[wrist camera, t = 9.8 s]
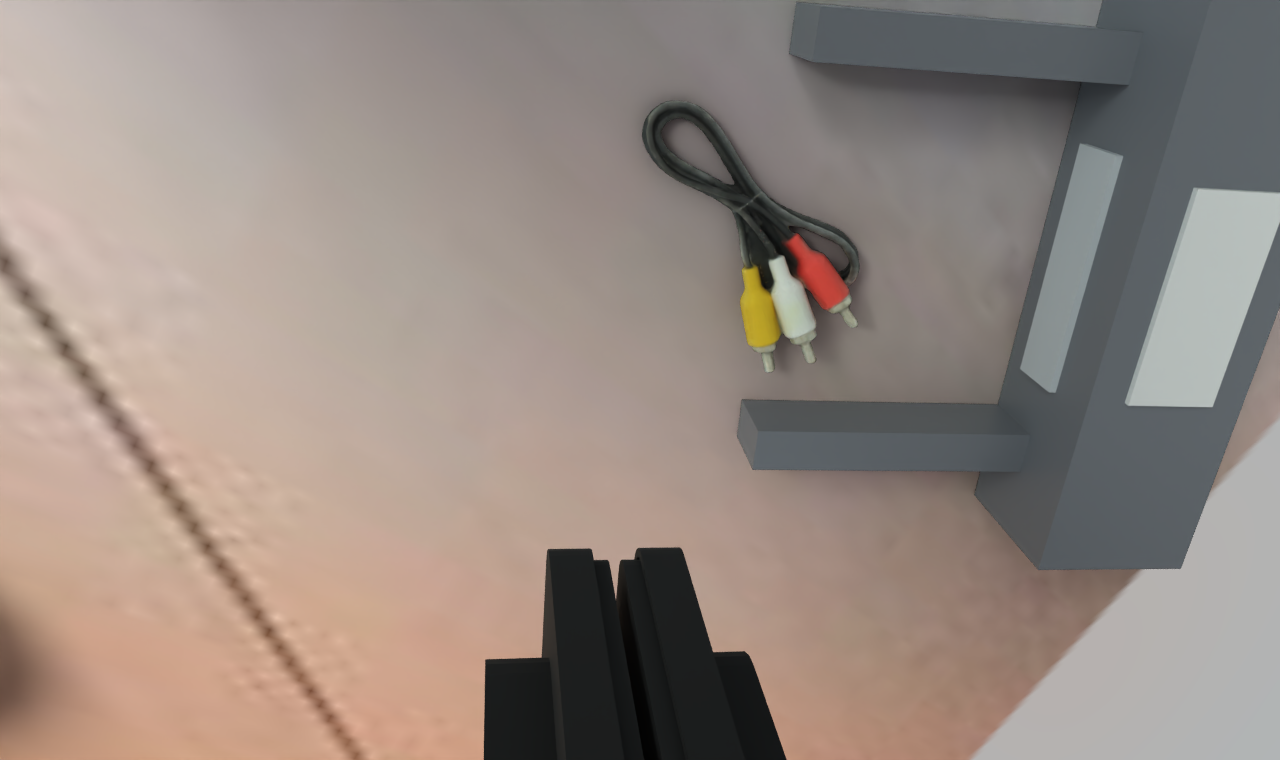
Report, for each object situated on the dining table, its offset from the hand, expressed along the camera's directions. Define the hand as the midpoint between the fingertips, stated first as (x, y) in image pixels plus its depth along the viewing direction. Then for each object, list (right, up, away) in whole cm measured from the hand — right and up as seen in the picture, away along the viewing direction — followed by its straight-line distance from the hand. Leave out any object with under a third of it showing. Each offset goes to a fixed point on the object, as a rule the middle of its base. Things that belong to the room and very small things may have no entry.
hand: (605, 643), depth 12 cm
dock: (+12, +8, +21) cm, 26 cm away
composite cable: (+4, +9, +20) cm, 22 cm away
